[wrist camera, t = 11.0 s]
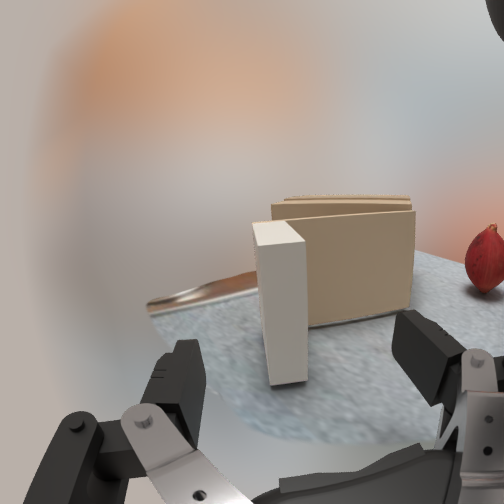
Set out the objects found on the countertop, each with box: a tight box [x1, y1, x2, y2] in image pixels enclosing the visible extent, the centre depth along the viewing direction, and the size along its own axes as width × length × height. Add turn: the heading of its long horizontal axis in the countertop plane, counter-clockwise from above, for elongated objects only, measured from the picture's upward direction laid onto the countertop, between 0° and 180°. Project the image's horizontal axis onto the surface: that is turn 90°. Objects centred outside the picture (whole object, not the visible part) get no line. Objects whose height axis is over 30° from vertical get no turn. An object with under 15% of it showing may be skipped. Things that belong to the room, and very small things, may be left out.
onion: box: [465, 223, 504, 293], centre depth 22 cm, size 6×6×8 cm
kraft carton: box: [271, 195, 412, 221], centre depth 31 cm, size 14×10×10 cm
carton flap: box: [252, 210, 416, 385], centre depth 19 cm, size 14×8×9 cm, turn 92°
